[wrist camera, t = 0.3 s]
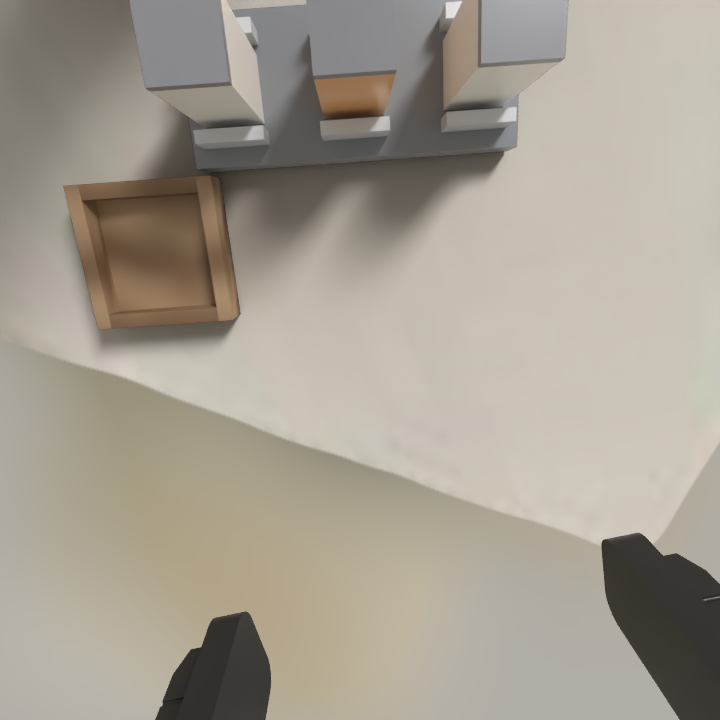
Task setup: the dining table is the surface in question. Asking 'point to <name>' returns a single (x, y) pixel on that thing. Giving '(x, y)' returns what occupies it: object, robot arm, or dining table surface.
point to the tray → (155, 251)
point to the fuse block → (298, 91)
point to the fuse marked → (352, 55)
